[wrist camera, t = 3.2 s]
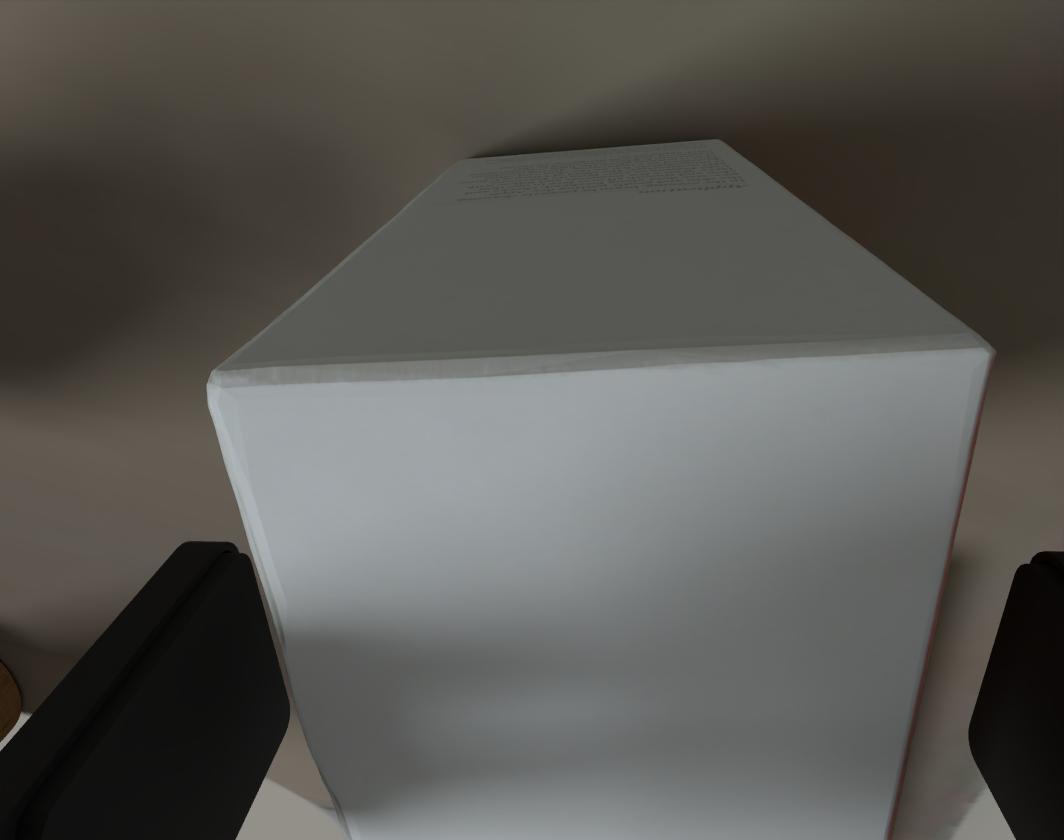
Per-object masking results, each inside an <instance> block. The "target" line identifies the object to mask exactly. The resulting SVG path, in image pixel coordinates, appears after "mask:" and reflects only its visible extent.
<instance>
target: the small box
mask: <svg viewBox="0 0 1064 840" xmlns="http://www.w3.org/2000/svg"><path fill="white" fill-rule="evenodd" d="M996 353H997V351H996V350H995V349H994V348H993V347H992V346H991V345H990V344H989V343H988V342H986V341H985V340H984V339H983V338H982V337H981V336H980V335H979V334H977V333H976V332H975V331H973V330H972V329H971V328H969V327H968V326H967V325H966V324H964V323H963V322H962V321H960V320H959V319H958V318H956V317H955V316H953V315H952V314H950V313H949V312H948V311H946V310H945V309H943V308H942V307H941V306H940V305H938V304H937V303H936V302H935V301H933V300H932V299H931V298H929V297H928V296H927V295H925V294H924V293H923V292H921V291H920V290H919V289H918V288H916V287H915V286H914V285H912V284H911V283H910V282H908V281H907V280H906V279H905V278H903V277H902V276H901V275H899V274H898V273H897V272H895V271H894V270H893V269H891V268H890V267H889V266H888V265H886V264H885V263H884V262H882V261H881V260H880V259H878V258H877V257H876V256H874V255H873V254H872V253H871V252H869V251H868V250H867V249H865V248H864V247H863V246H861V245H860V244H859V243H857V242H856V241H855V240H853V239H852V238H851V237H849V236H848V235H846V234H845V233H843V232H842V231H841V230H839V229H838V228H837V227H836V226H834V225H832V224H831V223H830V222H829V221H827V220H826V219H825V218H824V217H822V216H821V215H820V214H818V213H817V212H816V211H815V210H813V209H812V208H811V207H809V206H808V205H807V204H805V203H804V202H803V201H801V200H800V199H799V198H797V197H796V196H795V195H793V194H792V193H790V192H789V191H788V190H787V189H785V188H784V187H783V186H782V185H780V184H779V183H778V182H776V181H775V180H774V179H772V178H771V177H770V176H769V175H767V174H766V173H764V172H763V171H762V170H761V169H759V168H758V167H757V166H755V165H754V164H753V163H751V162H750V161H749V160H747V159H746V158H744V157H743V156H741V155H740V154H739V153H738V152H736V151H735V150H734V149H732V148H731V147H730V146H728V145H727V144H726V143H724V142H723V141H721V140H719V139H711V140H699V141H687V142H675V143H662V144H650V145H637V146H625V147H612V148H599V149H586V150H574V151H561V152H548V153H535V154H523V155H510V156H498V157H485V158H472V159H463V160H460V161H458V162H457V163H455V164H454V165H453V166H452V167H451V168H449V169H448V170H447V171H446V172H444V173H443V174H442V175H441V176H440V177H439V178H437V179H436V180H435V181H434V182H433V183H432V184H430V185H429V186H428V187H427V188H425V189H424V190H423V191H422V192H421V193H420V194H419V195H418V196H416V197H415V198H414V199H413V200H412V201H411V202H410V203H408V204H407V205H406V206H405V207H404V208H403V209H402V210H401V211H400V212H399V213H398V214H397V215H396V216H395V217H393V218H392V219H391V220H390V221H389V222H387V223H386V224H385V225H384V226H383V227H381V228H380V229H379V230H378V231H377V232H376V233H374V234H373V235H372V236H371V237H370V238H368V239H367V240H366V241H365V242H364V243H362V244H361V245H360V246H359V247H358V248H357V249H356V250H354V251H353V252H352V253H351V254H350V255H349V256H348V257H347V258H345V259H344V260H343V261H342V262H341V263H340V264H339V265H337V266H336V267H335V268H334V269H333V270H332V271H331V272H330V273H328V274H327V275H326V276H325V277H324V278H323V279H322V280H321V281H319V282H318V283H317V284H316V285H315V286H314V287H313V288H311V289H310V290H309V291H308V292H307V293H306V294H305V295H303V296H302V297H301V298H300V299H299V300H298V301H296V302H295V303H294V304H293V305H292V306H291V307H289V308H288V309H287V310H286V311H284V312H283V313H282V314H280V315H279V316H278V317H277V318H276V319H275V320H274V321H273V322H272V323H271V324H270V325H269V326H267V327H266V328H265V329H264V330H263V331H261V332H260V333H259V334H258V335H256V336H255V337H254V338H253V339H252V340H250V341H249V342H248V343H247V344H245V345H244V346H243V347H242V348H240V349H239V350H238V351H237V352H235V353H234V354H233V355H231V356H230V357H229V358H228V359H226V360H225V361H224V362H223V363H221V364H220V365H219V366H218V367H216V368H215V369H214V370H213V371H212V372H211V375H210V378H209V381H208V384H207V398H208V408H209V410H210V413H211V416H212V419H213V422H214V425H215V428H216V432H217V436H218V439H219V443H220V447H221V451H222V454H223V458H224V462H225V466H226V469H227V472H228V475H229V478H230V481H231V484H232V487H233V490H234V493H235V496H236V499H237V502H238V506H239V509H240V513H241V516H242V520H243V523H244V527H245V530H246V534H247V537H248V541H249V544H250V548H251V551H252V554H253V557H254V560H255V563H256V566H257V569H258V573H259V576H260V579H261V582H262V585H263V588H264V591H265V594H266V597H267V600H268V603H269V607H270V610H271V614H272V617H273V621H274V624H275V628H276V631H277V635H278V638H279V641H280V645H281V648H282V652H283V656H284V660H285V665H286V669H287V673H288V677H289V682H290V686H291V690H292V695H293V699H294V703H295V708H296V712H297V715H298V718H299V721H300V724H301V727H302V730H303V733H304V736H305V739H306V742H307V745H308V747H309V750H310V752H311V755H312V757H313V759H314V761H315V763H316V765H317V767H318V770H319V773H320V775H321V778H322V780H323V782H324V784H325V786H326V788H327V790H328V792H329V794H330V796H331V799H332V801H333V804H334V806H335V809H336V812H337V815H338V818H339V821H340V824H341V827H342V830H343V833H344V835H345V838H346V840H891V837H892V833H893V828H894V823H895V819H896V814H897V810H898V805H899V800H900V795H901V791H902V786H903V781H904V776H905V771H906V765H907V759H908V754H909V748H910V745H911V741H912V737H913V733H914V729H915V725H916V721H917V716H918V712H919V707H920V701H921V696H922V691H923V686H924V682H925V678H926V673H927V669H928V665H929V661H930V656H931V652H932V647H933V642H934V637H935V632H936V628H937V623H938V618H939V612H940V605H941V599H942V595H943V591H944V588H945V584H946V580H947V575H948V570H949V565H950V560H951V555H952V550H953V545H954V540H955V535H956V530H957V526H958V521H959V517H960V512H961V508H962V503H963V499H964V494H965V490H966V485H967V481H968V476H969V472H970V467H971V463H972V458H973V454H974V449H975V444H976V439H977V434H978V429H979V425H980V420H981V415H982V410H983V405H984V400H985V395H986V390H987V385H988V381H989V376H990V373H991V370H992V366H993V363H994V360H995V356H996Z"/></svg>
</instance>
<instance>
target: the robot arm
mask: <svg viewBox="0 0 1064 840" xmlns="http://www.w3.org/2000/svg"><path fill="white" fill-rule="evenodd" d="M289 718H290V704H289V699H288V695H287V692H286V688H285V684H284V681H283V677H282V673H281V670H280V666H279V662H278V658H277V655H276V651H275V647H274V644H273V640H272V636H271V633H270V629H269V625H268V622H267V618H266V614H265V611H264V607H263V603H262V599H261V596H260V592H259V588H258V585H257V581H256V577H255V574H254V570H253V566H252V563H251V560H250V558H249V557H248V556H247V554H244V553H239V551H238V548H237V547H236V546H235V545H234V544H233V543H230V542H204V541H189V542H185V543H183V544H181V545H180V546H179V547H178V548H177V549H176V550H175V551H174V552H173V554H172V555H171V556H170V557H169V558H168V559H167V560H166V562H165V563H164V564H163V565H162V566H161V567H160V568H159V570H158V571H157V572H156V573H155V574H154V575H153V577H152V578H151V579H150V580H149V581H148V582H147V583H146V585H145V586H144V587H143V588H142V589H141V590H140V591H139V593H138V594H137V595H136V596H135V597H134V598H133V600H132V601H131V602H130V603H129V604H128V605H127V606H126V608H125V609H124V610H123V611H122V612H121V613H120V614H119V616H118V617H117V618H116V619H115V620H114V621H113V623H112V624H111V625H110V626H109V627H108V628H107V629H106V631H105V632H104V633H103V634H102V635H101V636H100V637H99V639H98V640H97V641H96V642H95V643H94V644H93V646H92V647H91V648H90V649H89V650H88V651H87V652H86V654H85V655H84V656H83V657H82V658H81V659H80V660H79V662H78V663H77V664H76V665H75V666H74V667H73V669H72V670H71V671H70V672H69V673H68V674H67V675H66V677H65V678H64V679H63V680H62V681H61V682H60V683H59V685H58V686H57V687H56V688H55V689H54V690H53V692H52V693H51V694H50V695H49V696H48V697H47V698H46V700H45V701H44V702H43V703H42V704H41V705H40V706H39V708H38V709H37V710H36V711H35V712H34V713H33V715H32V716H31V717H30V718H29V719H28V720H27V721H26V723H25V724H24V725H23V726H22V727H21V728H20V730H19V731H18V732H17V733H16V734H15V735H14V736H13V738H12V739H11V740H10V741H9V742H8V743H7V744H6V746H5V747H4V748H3V749H2V750H1V751H0V840H235V839H236V837H237V835H238V833H239V831H240V829H241V827H242V825H243V822H244V820H245V818H246V816H247V814H248V812H249V810H250V808H251V805H252V803H253V801H254V799H255V797H256V795H257V792H258V791H259V788H260V786H261V784H262V782H263V780H264V778H265V776H266V774H267V771H268V769H269V767H270V765H271V763H272V761H273V759H274V757H275V754H276V752H277V750H278V748H279V746H280V744H281V742H282V740H283V738H284V735H285V733H286V730H287V728H288V723H289ZM968 735H969V745H970V749H971V753H972V756H973V758H974V760H975V762H976V764H977V766H978V768H979V770H980V772H981V774H982V776H983V778H984V780H985V781H986V783H987V785H988V787H989V789H990V791H991V793H992V795H993V797H994V799H995V800H996V802H997V804H998V806H999V808H1000V810H1001V812H1002V814H1003V816H1004V818H1005V819H1006V821H1007V823H1008V825H1009V827H1010V829H1011V831H1012V833H1013V835H1014V836H1015V838H1016V840H1064V552H1058V551H1043V552H1040V553H1037V554H1036V555H1035V556H1034V557H1033V558H1032V560H1031V562H1030V564H1023V565H1021V566H1020V567H1019V568H1018V569H1017V571H1016V573H1015V575H1014V579H1013V582H1012V585H1011V588H1010V592H1009V595H1008V598H1007V602H1006V605H1005V608H1004V612H1003V615H1002V618H1001V622H1000V625H999V628H998V632H997V635H996V638H995V642H994V645H993V648H992V652H991V655H990V658H989V662H988V665H987V668H986V672H985V675H984V678H983V682H982V685H981V688H980V691H979V695H978V698H977V701H976V705H975V708H974V711H973V715H972V718H971V721H970V725H969V731H968Z"/></svg>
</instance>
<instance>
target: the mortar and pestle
mask: <svg viewBox="0 0 1064 840" xmlns="http://www.w3.org/2000/svg"><path fill="white" fill-rule="evenodd" d="M20 713H21V697H20V693H19V690H18V688H17V686H16V684H15V682H14V680H13V678H12V676H11V675H10V673H9V671H8V670H7V669H6V668H5V666H4V665H3V664H2V663H1V662H0V742H1V741H2V740H3V739H4V737H6V736H7V734H8V733H9V732H10V731H11V730H12V728H13V727H14V726H15V724H16V723H17V721H18V719H19V717H20Z"/></svg>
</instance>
